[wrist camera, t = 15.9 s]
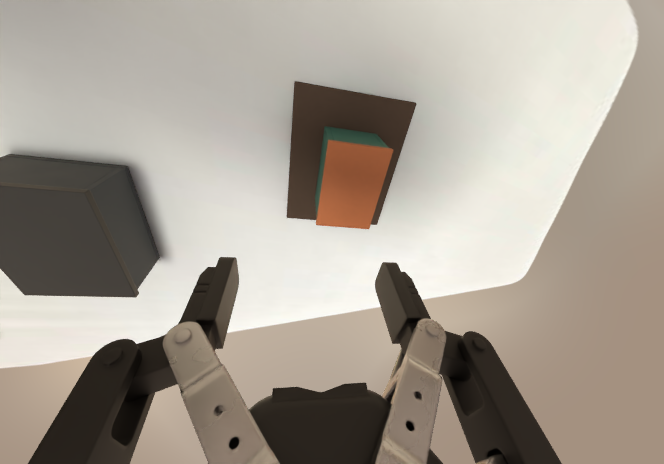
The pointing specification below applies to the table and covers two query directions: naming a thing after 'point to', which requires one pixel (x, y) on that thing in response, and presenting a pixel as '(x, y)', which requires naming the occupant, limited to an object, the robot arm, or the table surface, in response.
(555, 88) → the table surface
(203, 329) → the robot arm
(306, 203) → the mat
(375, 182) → the orange and teal box
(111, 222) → the bottom box
